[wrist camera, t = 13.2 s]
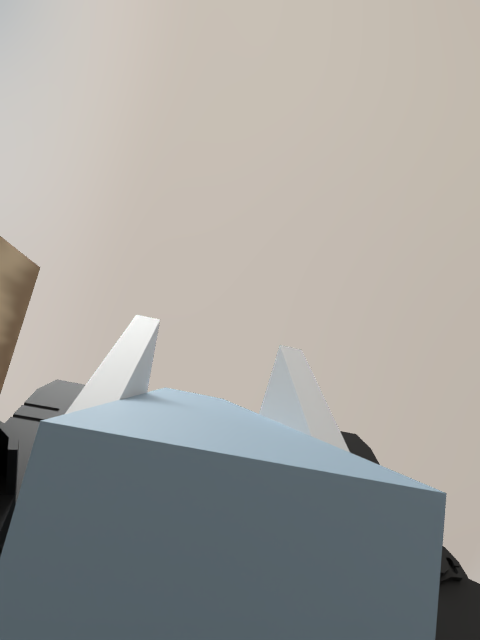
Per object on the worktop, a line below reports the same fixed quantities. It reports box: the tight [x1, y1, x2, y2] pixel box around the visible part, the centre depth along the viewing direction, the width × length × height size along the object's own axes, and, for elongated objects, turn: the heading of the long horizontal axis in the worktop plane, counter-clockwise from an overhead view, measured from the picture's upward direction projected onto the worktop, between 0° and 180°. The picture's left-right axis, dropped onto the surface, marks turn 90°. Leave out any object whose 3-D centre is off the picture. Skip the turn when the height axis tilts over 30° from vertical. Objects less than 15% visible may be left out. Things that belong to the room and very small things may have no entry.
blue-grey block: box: [0, 388, 446, 640], centre depth 14 cm, size 22×4×3 cm, turn 9°
